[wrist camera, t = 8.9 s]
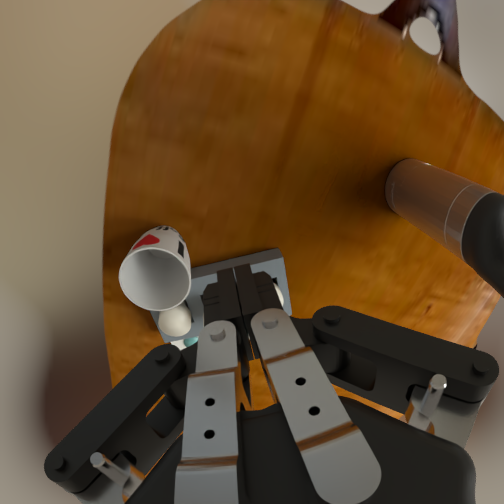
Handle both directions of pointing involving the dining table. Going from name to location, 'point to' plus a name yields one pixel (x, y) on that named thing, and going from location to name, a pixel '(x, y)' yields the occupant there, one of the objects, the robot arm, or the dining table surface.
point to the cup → (157, 270)
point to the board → (258, 262)
